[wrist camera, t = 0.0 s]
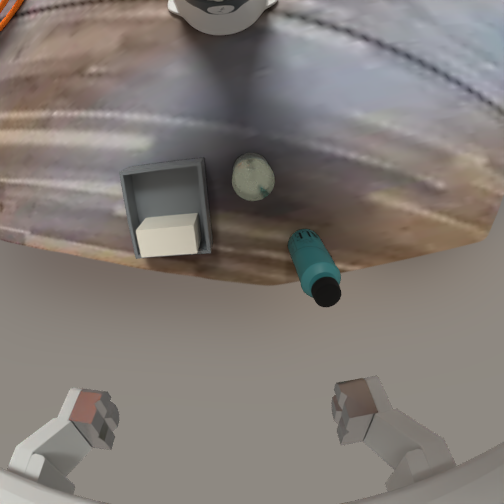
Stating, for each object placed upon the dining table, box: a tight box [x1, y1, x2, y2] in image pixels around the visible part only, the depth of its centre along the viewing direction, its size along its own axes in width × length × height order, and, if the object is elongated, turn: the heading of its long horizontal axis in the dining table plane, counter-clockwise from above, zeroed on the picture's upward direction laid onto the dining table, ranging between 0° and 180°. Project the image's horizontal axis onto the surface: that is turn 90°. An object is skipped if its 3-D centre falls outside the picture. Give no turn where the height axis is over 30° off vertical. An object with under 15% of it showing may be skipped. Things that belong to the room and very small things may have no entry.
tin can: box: [232, 153, 275, 201], centre depth 50 cm, size 6×6×8 cm
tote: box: [119, 158, 213, 259], centre depth 53 cm, size 16×14×5 cm
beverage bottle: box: [288, 229, 341, 307], centre depth 51 cm, size 6×7×20 cm
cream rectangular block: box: [136, 213, 201, 257], centre depth 54 cm, size 5×10×6 cm, turn 93°
